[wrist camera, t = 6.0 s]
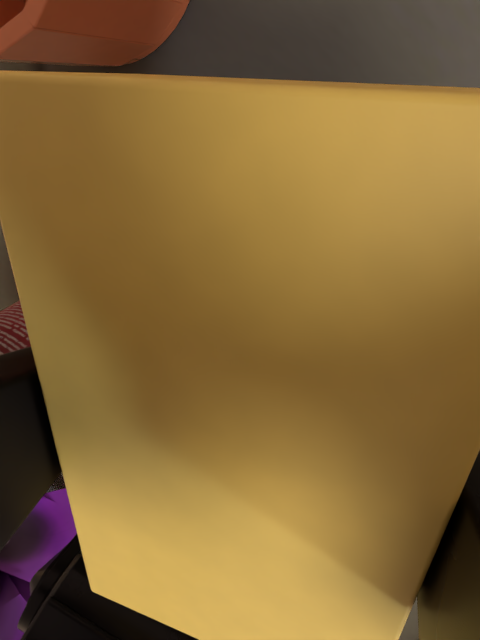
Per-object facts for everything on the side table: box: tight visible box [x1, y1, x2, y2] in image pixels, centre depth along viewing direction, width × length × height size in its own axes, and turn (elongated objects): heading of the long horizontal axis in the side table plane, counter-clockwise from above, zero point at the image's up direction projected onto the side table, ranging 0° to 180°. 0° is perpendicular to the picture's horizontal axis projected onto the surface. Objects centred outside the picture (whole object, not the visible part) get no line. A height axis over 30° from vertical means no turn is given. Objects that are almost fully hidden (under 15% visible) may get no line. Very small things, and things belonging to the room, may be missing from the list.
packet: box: [0, 70, 480, 640], centre depth 8 cm, size 6×10×4 cm, turn 178°
